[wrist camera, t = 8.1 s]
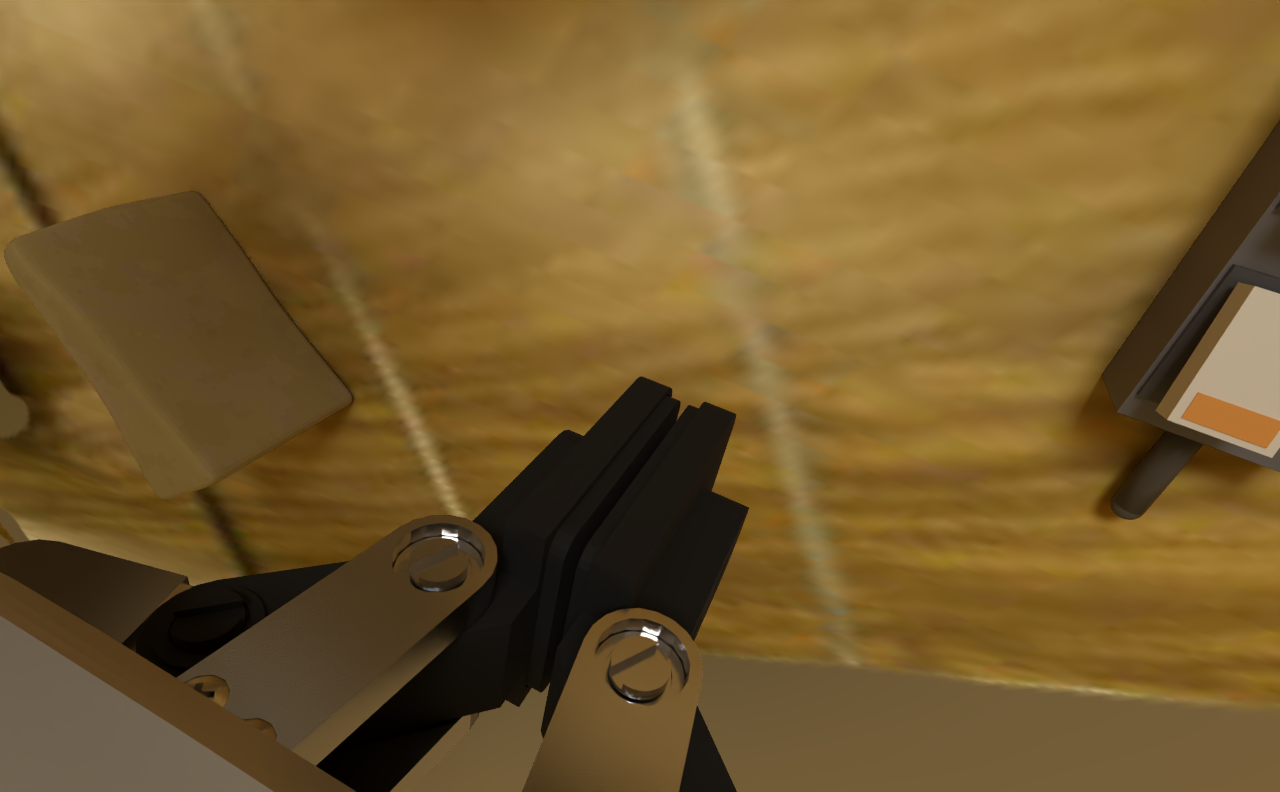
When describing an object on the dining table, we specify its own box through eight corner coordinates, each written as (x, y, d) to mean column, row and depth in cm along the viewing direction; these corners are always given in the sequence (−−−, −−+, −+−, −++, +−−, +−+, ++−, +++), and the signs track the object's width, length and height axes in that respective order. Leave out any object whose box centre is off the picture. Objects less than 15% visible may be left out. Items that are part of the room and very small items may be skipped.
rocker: (1238, 282, 27) (1255, 286, 26) (1350, 316, 26) (1374, 322, 25) (1155, 410, 30) (1167, 420, 28) (1255, 446, 29) (1272, 458, 27)
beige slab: (169, 212, 61) (-31, 255, 48) (221, 168, 55) (13, 205, 43) (302, 422, 66) (153, 507, 54) (360, 400, 61) (211, 489, 49)
